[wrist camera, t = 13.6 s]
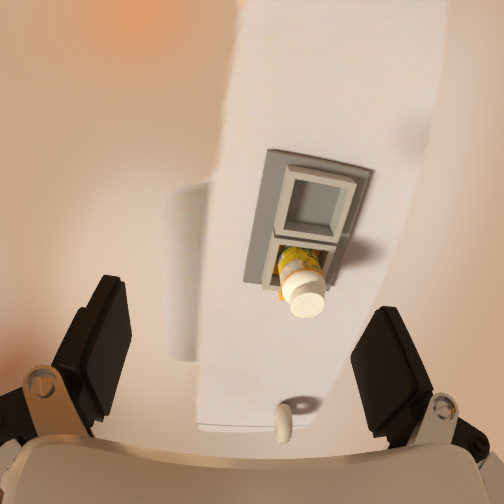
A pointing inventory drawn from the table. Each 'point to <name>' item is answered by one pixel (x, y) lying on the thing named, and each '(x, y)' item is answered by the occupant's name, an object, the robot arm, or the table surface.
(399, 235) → the table surface
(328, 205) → the compartment tray
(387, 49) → the table surface
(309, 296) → the supplement bottle
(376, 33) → the table surface
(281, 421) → the donut
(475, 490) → the robot arm
